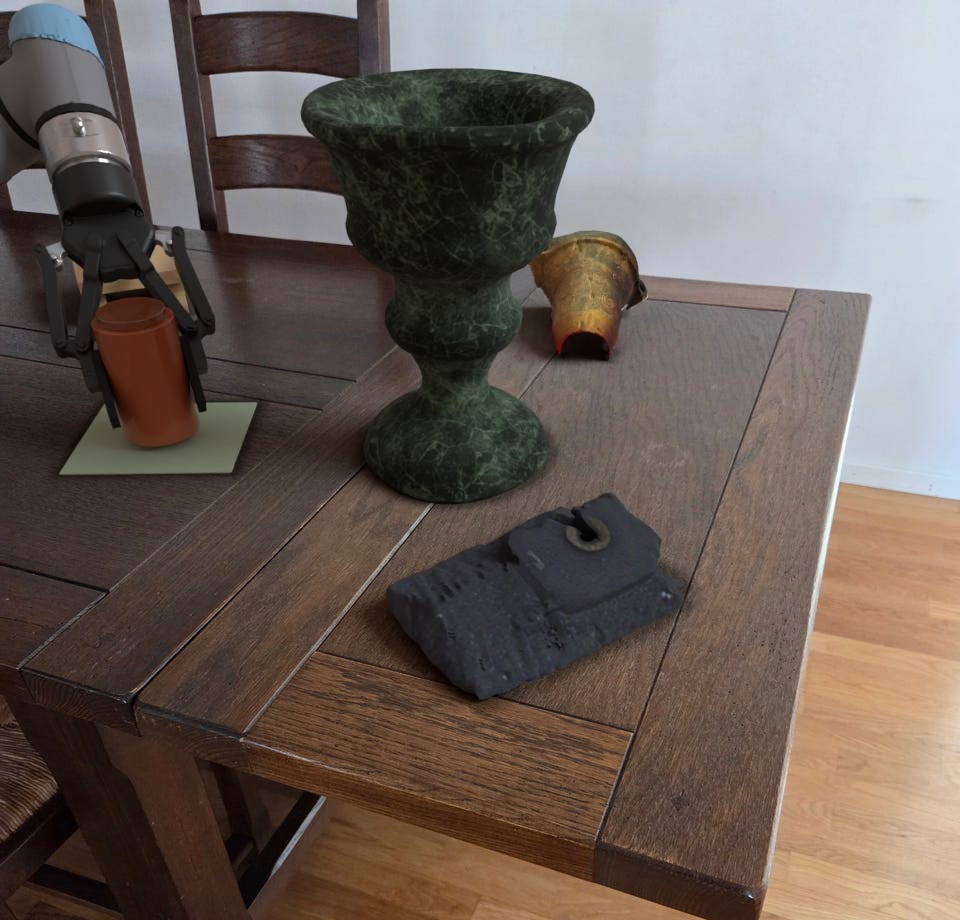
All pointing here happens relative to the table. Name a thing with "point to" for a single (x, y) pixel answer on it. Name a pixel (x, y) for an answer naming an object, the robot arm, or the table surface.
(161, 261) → the stand
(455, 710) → the table surface
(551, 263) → the pot
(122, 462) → the mat
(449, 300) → the goblet
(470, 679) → the grey block with grommet
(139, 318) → the canister
